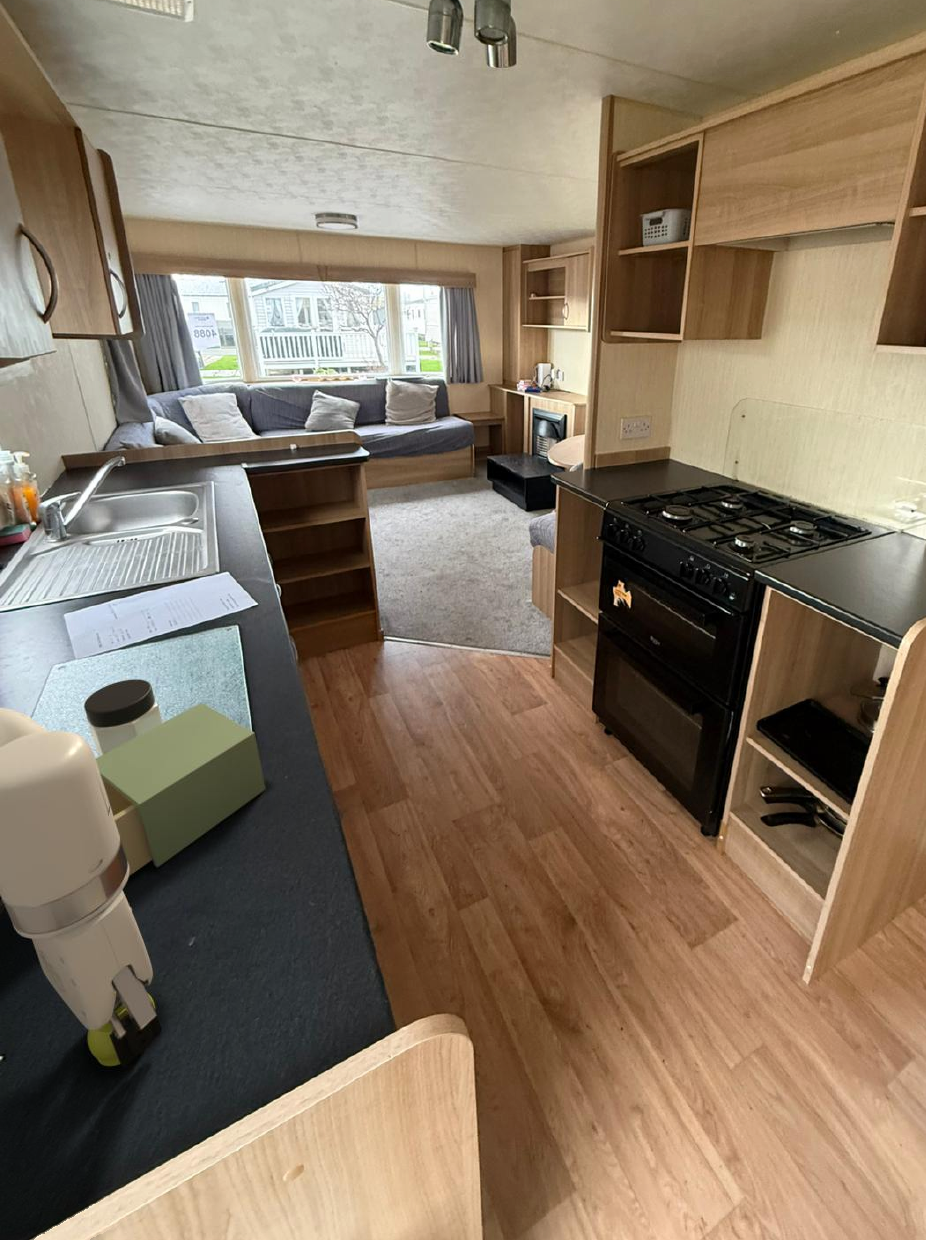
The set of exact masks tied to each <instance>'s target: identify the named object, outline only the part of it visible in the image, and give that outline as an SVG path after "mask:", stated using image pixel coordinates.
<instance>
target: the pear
mask: <svg viewBox="0 0 926 1240" xmlns="http://www.w3.org/2000/svg"><path fill="white" fill-rule="evenodd" d="M115 994H116V991H115ZM148 995H149V997H150V1000H151V1001H152V1002H153V1005H154V1008H155V1009H156V1005H155V1001H154V999H153V997H152V996H151V994H149V993H148ZM116 1012H117V1014H118V1016H119V1019H120V1020H121V1019H122V1018H123V1017H124V1016H125V1015H126V1014H128V1012H127V1010H126V1008H125V1007H124V1005H121V1006H120V1007H119V1008H118V1009H117V1010H116ZM112 1032H113V1030H112V1028H111V1026H110V1024H109V1022H107V1023H106V1024H105V1025H104V1026H102V1027H101V1028H100V1029H99V1030H88V1031H87V1045H88V1048H89V1051H90V1052H91V1054H92V1055H93V1056H94V1057H95V1058H96V1060H97V1061H98V1062H99V1064H101V1065H103V1066H106V1067H115V1066H119V1065H121V1063H120V1062H119V1059H118V1057H117V1054H116V1052H115V1049H114V1046H113V1044H112V1041H111V1039H110V1036H109V1035H110V1034H111V1033H112Z"/></svg>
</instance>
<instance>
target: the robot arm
mask: <svg viewBox="0 0 926 1240" xmlns="http://www.w3.org/2000/svg"><path fill="white" fill-rule="evenodd" d="M129 872H130V869H129V864H128V861H127V857H126V854H125V851H124V848H123V844H122V841H121V838H120V835H119V833H118V829H117V826H116V823H115V820H114V816H113V813H112V810H111V807H110V803H109V800H108V797H107V794H106V791H105V788H104V784H103V781H102V778H101V775H100V772H99V769H98V765H97V762H96V757H95V753H94V751H93V748H92V747H91V744H90V743H89V742H88V741H87V739H85V738H84V737H83V736H81V735H79V734H77V733H74V732H72V731H62V730H59V731H58V730H55V731H54V730H53V731H51V730H49V729H48V728H46V727H44V726H43V725H41V724H39V723H37V722H36V721H34V719H33V718H31V717H30V716H28V715H27V714H25V713H23V712H19V711H15V710H13V709H11V708H6V707H0V897H1V900H3V902H4V905H5V907H4V908H5V909H6V912H7V914H8V917H9V919H10V921H11V923H12V926H13V928H14V930H15V931H16V933H17V934H18V935H20V936H21V937H23V938H26V939H31V940H32V943H33V947H34V949H35V952H36V955H37V959H38V961H39V964H40V967H41V970H42V972H43V974H44V976H45V977H46V979H47V980H48V982H49V983H50V984H51V986H52V987H53V988H54V990H55V991H56V992H57V994H58V995H59V997H60V998H61V999H62V1000H63V1001H64V1004H66V1005H67V1007H68V1008H69V1009H70V1011H71V1012H72V1013H73V1014H74V1016H75V1017H76V1019H78V1020H79V1021H80V1023H81V1024H82V1025H83V1026H84V1028H86V1029H87V1030H88V1031H89V1030H99V1029H100V1028H101V1027H102V1026H104V1025H105V1024H106V1023H107V1022H109V1024H110V1026H111V1028H112V1030H113V1032H112V1033H111V1034H110V1035H109V1036H110V1039H111V1041H112V1044H113V1046H114V1049H115V1052H116V1054H117V1057H118V1059H119V1062H120V1063H121V1064H120V1065H121V1066H122V1067H123V1068H125V1067H127V1066H128V1065H130V1064H131V1062H133V1061H134V1060H135V1059H136V1058H137V1057H138V1056H140V1055H141V1054H142V1053H144V1051H146V1049H148V1048H149V1047H150V1046H151V1044H152V1043H153V1042H154V1041H155V1040H156V1039H157V1038H159V1036H160V1035H161V1033H162V1031H163V1029H162V1027H161V1024H160V1021H159V1017H158V1014H157V1011H156V1007H155V1008H154V1005H155V1004H154V1005H153V1002H152V1001H151V1000H150V997H149V995H150V994H149V992H148V991H147V989H146V986H147V987H150V985H151V983H152V981H153V976H154V971H153V966H152V963H151V960H150V959H151V958H150V957H149V954H148V950H147V948H146V945H145V941H144V939H143V937H142V934H141V931H140V929H139V925H138V923H137V921H136V918H135V916H134V914H133V908H132V906H130V903H129V902H128V899H127V897H126V894H125V893H124V890H123V889H124V888H125V886H126V884H127V882H128V880H129V877H130V876H129ZM115 991H116V994H115ZM148 994H149V995H148ZM121 1005H124V1007H125V1008H126V1010H127V1012H128V1014H126V1015H125V1016H124V1017H123V1018H122V1019H121V1020H120V1019H119V1016H118V1014H117V1012H116V1010H117V1009H118V1008H119V1007H120V1006H121Z"/></svg>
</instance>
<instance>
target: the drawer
mask: <svg viewBox="0 0 926 1240" xmlns="http://www.w3.org/2000/svg"><path fill="white" fill-rule="evenodd" d="M102 781H103V784H104V788H105V791H106V794H107V797H108V800H109V803H110V807H111V810H112V813H113V816H114V820H115V823H116V826H117V829H118V833H119V835H120V838H121V841H122V844H123V848H124V851H125V854H126V857H127V861H128V864H129V869H130V872H129V877H130V876H132V875H133V874H135V872H137V871H138V870H140V869H141V868H142V867H144V866H146V865H147V864H148V863H150V862H151V861H153V859H152V856H151V852H150V849H149V846H148V842H147V839H146V835H145V832H144V829H143V825H142V822H141V818H140V815H139V812H138V808H137V806H135V805H134V804H133V803H132V802H130V801H129V800H128V799H127V798H125V797H124V796H123V795H122V794H121V793H119V792H118V791H117V790H116V789H114V788H113V787H112V786H111V785H109V784H108V783H107V782H106V781H104V780H103V779H102ZM5 908H6V907H5V905H4V902H3V900H2V899H1V900H0V916H1V915H2V914H3V913H4V912H5Z"/></svg>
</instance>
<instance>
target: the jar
mask: <svg viewBox="0 0 926 1240" xmlns="http://www.w3.org/2000/svg"><path fill="white" fill-rule="evenodd" d="M156 701H157V700H156V698H155V694H154V690H153V687H152V684H151V683H150V682H149V681H147V680H145V679H139V678H138V679H137V678H135V679H125V680H120V681H117V682H113V683H110V684H108V685H106V686H103V687H101V688H100V689H98V690H96V691H94V692H93V693H91V694H90V695H89V696H88V697H87V698H86V700H85V702H84V705H83V708H84V711H85V715H86V720H87V723H88V726H89V729H90V730H89V731H90V732H91V736H92V739H93V742H94V745H95V749H96V752H97V756H98V757H100V756H102V755H104V754H106V753H108V752H109V751H111V750H113V749H115V748H117V747H119V746H121V745H123V744H124V743H126V742H128V741H130V740H132V739H134V738H136V737H138V736H139V735H141V734H143V733H145V732H147V731H149V730H151V729H153V728H155V727H156V726H158V725H160V724H162V723H164V722H163V719H162V714H161V711H160V707H159V704H158V702H156Z"/></svg>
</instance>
